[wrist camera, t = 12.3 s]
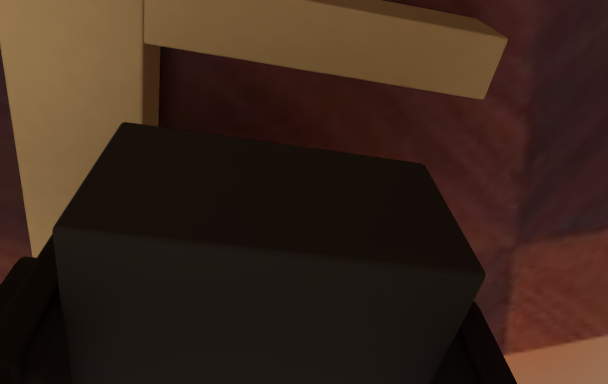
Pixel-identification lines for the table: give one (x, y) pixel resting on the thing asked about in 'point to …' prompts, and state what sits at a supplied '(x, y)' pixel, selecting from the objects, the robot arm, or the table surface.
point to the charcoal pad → (257, 265)
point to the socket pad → (210, 40)
